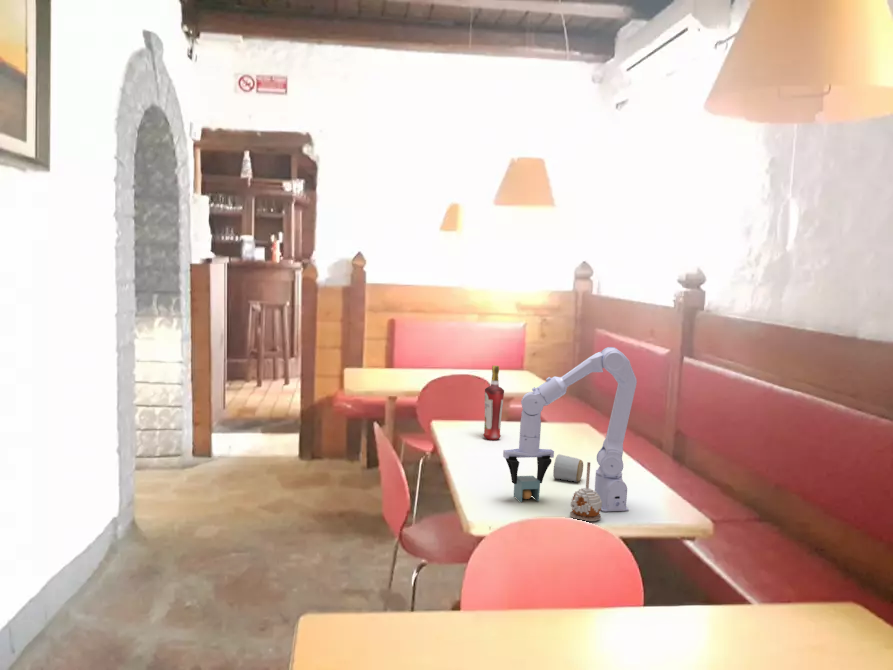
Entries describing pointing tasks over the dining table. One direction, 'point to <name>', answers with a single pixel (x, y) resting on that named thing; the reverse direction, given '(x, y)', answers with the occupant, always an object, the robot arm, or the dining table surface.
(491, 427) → the liquor
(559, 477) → the ceramic mug
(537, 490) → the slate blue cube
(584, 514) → the caramel apple
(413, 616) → the dining table surface
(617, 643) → the dining table surface
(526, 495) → the orange ball
